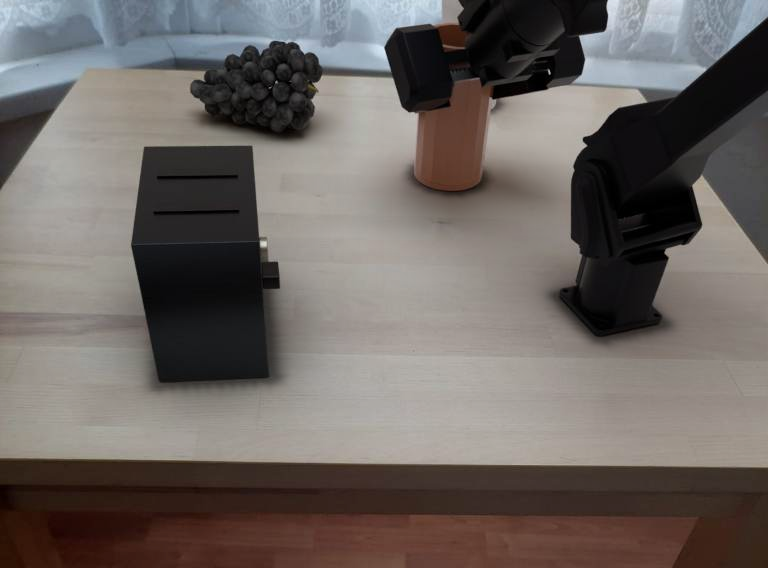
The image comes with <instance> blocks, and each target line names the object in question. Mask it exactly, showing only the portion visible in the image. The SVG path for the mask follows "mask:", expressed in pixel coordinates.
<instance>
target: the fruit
mask: <svg viewBox="0 0 768 568" xmlns="http://www.w3.org/2000/svg"><path fill="white" fill-rule="evenodd" d="M319 59H320V58H319V57H318V56H317V55H316V54H315V53H314V52H312V51H308V52H306V53H305V52H304V51H302V49H301V46H300V45H299V44H298V43H297V42H294V41H289V42H285V41H282V40H272V41H270V42H269V44H268V47H267V48H264V49H262V51H261V52H260V51H259V49H258V48H257V47H256V46H254V45H251V44H249V45H246V46H245V47H244V48H243V50H242V52H241V53H240V55H238V54H237V55H236V54H234V53H231V54H228V55H226V57H225V59H224V64H223V65H224V68H221V69H218V70H217V69H215V68H210V69H207V70H205V72H204V75H203V79H194V80H193V81H192V82H190V85H189V93H190V94H191V96H192V97H193V98H194V99H198V100H199V101H200V102H201V103H203V105H204V111H205V112H206V114H208V115H209V116H211V117H218V116H220V114H221V115H222V116H223V117H225V118H227V119H232V121H233V122H234V124H237V125H239V126H242V125H244V124H245V123H246V122H248V123H249V124H252V125H256V124H257V123H258V124H259V125H260V126H262V127H265V128H270V129H271V131H272V132H275V133H282V132H283V131H284V130H285V129H286V128H289V129H290V130H294V129H295V130H304V129H305V128H306V127H307V126H308V123H309V121H310V119H311V118H313V117H314V115H315V110H316V106H315V104H314V102H313V99H314V98H315V96H316V94H317V93H320V91H319V88H316V86H315V84H317V83H319V82H320V80H321V79H322V76H323V72H324V69H323V67H322V65H321V64H320V61H319ZM276 82H277V83H276Z"/></svg>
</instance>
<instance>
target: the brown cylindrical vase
mask: <svg viewBox="0 0 768 568" xmlns="http://www.w3.org/2000/svg"><path fill="white" fill-rule="evenodd" d="M433 26H435V27H436V28H438V31H439V34H440V37H441V41H442V44H443V48H444V51H445V52H447V51H454V50H461V49H465V39H466V37H467V33H466V31H463V32H462V31H461V29H460V25H459V23H444V24H442V23H436V24H434V25H433ZM493 89H494V85H493V86H487V87H482V86H481V82H480V79H478V80H472V81H466V82H460V83H455V84H454V88H453V89H452V95H451V98H450V99H449V101H450V104H451V106H450V107H448V108H443V109H437V110H432V111H427V112H422V113H416V114H417V116H416V129H415V130H416V132H415V146H414V162H413V163H414V164H413V166H414V168H413V169H414V170H413V175H414V178H415V179H416V180H417V182H419V183H420V184H422V185H423V186H425V187H428V188H430V189H433V190H439V191H445V192H446V191H447V192H460V191H464V190H469V189H472V188H473V187H475V186H477V185H478V184H480V182H481V180H482V175H483V172H484V165H485V158H486V151H487V150H486V149H487V141H488V134H489V127H490V118H491V112H492V109H491V104H492V97H493Z"/></svg>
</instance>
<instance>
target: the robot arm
mask: <svg viewBox="0 0 768 568" xmlns="http://www.w3.org/2000/svg"><path fill="white" fill-rule="evenodd" d="M458 1H459V3H460V4H461V6H462V7H463V8H464V9H463V10H462V12H461V13H460V14H459V15H458V17H457V18H458V22H459V25H460V29H461V31H462V32H463V31H466V33H467V37H466V39H465V49H461V50H454V51H447V52H445V51H444V48H443V44H442V41H441V37H440V34H439V31H438V28H436V27H435V26H434V25H433V24H432V23H423V24H415V25H409V26H402V27H395V28H394V30H393V32H392V33H391V35H390V36H389V37H388V39H387V40H386V43H385V45H384V46H383V49H384V52H385V55H386V60H387V62H388V66H389V69H390V72H391V76H392V79H393V83H394V87H395V89H396V92H397V95H398V100H399V102H400V107H401V108H402V109H403V110H405V111H406V112H408V113H409V114H410V113H414V114H417V113H422V112H427V111H432V110H437V109H443V108H448V107H450V106H451V104H450V101H449V99H450V98H451V95H452V89H453V88H454V84H455V83H460V82H466V81H472V80H478V79H480V82H481V86H482V87H487V86H493V85H494V89H493V97H492V100H495V99H497V100H501V99H505V98H512V97H516V96H522V95H527V94H533V93H539V92H544V91H548V90H549V89H552V88H559V87H565V86H570V85H572V84H573V83H574V82H575V81H576V80H578V78H580V77H581V76H583V72H584V68H585V64H586V55H585V53H584V48H583V45H582V40H581V38H580V37H582V36H587V35H595V34H600V33H601V34H602V33H605V32H606V30H607V28H608V21H609V12H608V2H609V0H458ZM767 113H768V16H767V17H766V18H764V19H763V20H762V21H761V22H760V23H759V24H758V25H756V26H755V27H754V28H753V29H751V31H749V32H748V33H747V34H746V35H745V36H744V37H743V38H741V39H740V40H739V41H738V42H737V43H736V44H735V45H733V46H732V47H731V48H730V49H728V51H726V53H724V54H723V55H722V56H721V57H719V58H718V59H717V60H716V61H715V62H713V64H711V65H710V66H709V67H708V68H707V69H706V70H705V71H703V72H702V73H701V74H700V75H698V77H697V78H695V79H694V80H693V81H692V82H691V83H690V84H689V85H687V86H686V87H685V88H684V89H683V90H682V91H681V92H679V93H678V94H677V95H675V96H672V97H668V98H662V99H656V100H652V101H645V102H642V103H641V102H640V103H636V104H631V105H630V104H629V105H626V106H620V107H617V108H616V109H614V111H613V112H611V113H610V114H609V115H608V116H607V118H606V119H605V120H604V122H603V123H602V125H601V126H600V127H599V128H598V129H597V130H596V131H595V132H593V133H592V134H590V135H586V136H583V137H582V142H583V143H584V144H585V145H586V146H584V147H583V148H582V149H581V150H580V151H579V153H578V154H577V156H576V158H575V160H574V161H573V162H574V163H573V165H572V167H573V170H574V171H573V173H572V175H571V178H570V179H571V180H570V240H571V241H573V242H574V243H575V244H576V245H578V248H579V255H581V258H580V262H579V266H578V269H577V273H576V277H575V279H574V280H575V285H571V286H566V287H565V286H564V287H561V288H560V289H559V292H558V296H559V297H560V298H561V299H562V300H563V302H565V304H567V306H568V307H569V308H570V309H571V310H572V311H573V312H574V313H575V314H576V315H577V316H578V317H579V318H580V319H581V320H582V321H583V323H584V324H585V325H586V326H587V327H588V328H589V329H590V330H591V331H592V332H593V333H594V334H595V335H597V336H603V335H609V334H614V333H618V332H622V331H627V330H632V329H637V328H641V327H646V326H649V325H655V324H660V323H661V321H662V320H663V315H662V314H661V312H660V311H658V310H657V308H655V307H654V306H653V304H654V301H655V298H656V295H657V293H658V290H659V287H660V285H661V282H662V278H663V276H664V274H665V270H666V268H667V265H668V262H669V259H670V257H669V256H668V255H667V254H666V250H667V249H671V248H675V247H678V246H686V245H689V244H690V243H691V242H692V241H693V239H694V238H695V237H696V236H697V235H698V233H699V232H700V231H701V229H702V228H703V221H702V218H701V214H700V209H699V206H698V203H697V198H696V195H695V191H694V187H693V185H694V184H695V183H696V182H697V181H698V180H700V178H701V177H702V175H703V173H704V169H705V167H706V166H707V162H708V160H709V158H710V157H711V155H712V154H713V153H714V152H715V151H717V149H719V148H720V147H721V146H723V145H725V144H726V143H727V142H729V141H730V140H731V139H732V138H734V137H736V136H737V135H738V134H740V133H741V132H742V131H744V130H745V129H747V128H748V127H749V126H750V125H751V124H753V123H754V122H756V121H757V120H758V119H760V118H762V117H763V116H765V115H766V114H767Z"/></svg>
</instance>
